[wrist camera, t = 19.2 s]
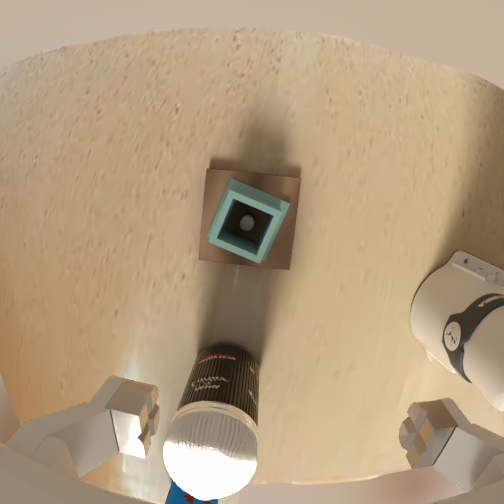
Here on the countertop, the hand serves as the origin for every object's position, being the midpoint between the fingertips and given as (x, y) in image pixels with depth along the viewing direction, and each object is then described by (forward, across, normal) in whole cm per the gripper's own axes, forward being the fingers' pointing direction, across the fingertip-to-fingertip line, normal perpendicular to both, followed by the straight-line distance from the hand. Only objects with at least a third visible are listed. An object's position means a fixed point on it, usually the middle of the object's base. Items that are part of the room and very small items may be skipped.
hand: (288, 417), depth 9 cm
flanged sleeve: (+34, +3, -2) cm, 34 cm away
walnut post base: (+35, +3, -2) cm, 35 cm away
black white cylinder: (+35, +4, +21) cm, 41 cm away
